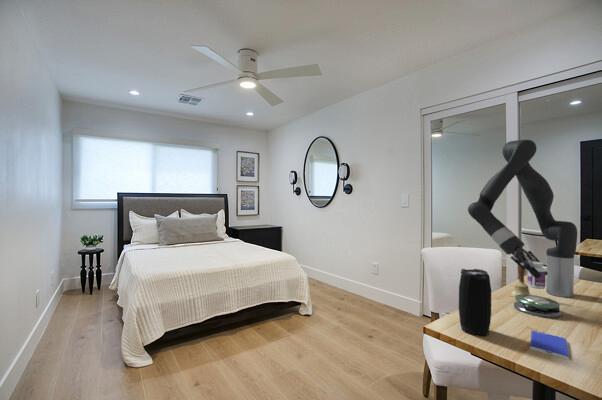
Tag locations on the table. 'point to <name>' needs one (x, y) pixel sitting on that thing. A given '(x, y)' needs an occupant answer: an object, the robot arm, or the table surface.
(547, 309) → the levelling base
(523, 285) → the hand bell
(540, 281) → the pill bottle
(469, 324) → the portable speaker
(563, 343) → the hard drive
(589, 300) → the table surface
